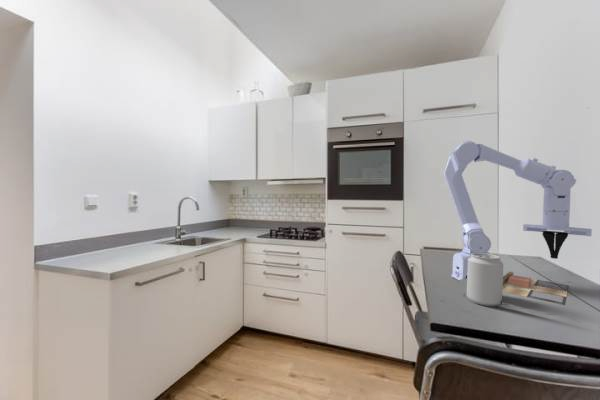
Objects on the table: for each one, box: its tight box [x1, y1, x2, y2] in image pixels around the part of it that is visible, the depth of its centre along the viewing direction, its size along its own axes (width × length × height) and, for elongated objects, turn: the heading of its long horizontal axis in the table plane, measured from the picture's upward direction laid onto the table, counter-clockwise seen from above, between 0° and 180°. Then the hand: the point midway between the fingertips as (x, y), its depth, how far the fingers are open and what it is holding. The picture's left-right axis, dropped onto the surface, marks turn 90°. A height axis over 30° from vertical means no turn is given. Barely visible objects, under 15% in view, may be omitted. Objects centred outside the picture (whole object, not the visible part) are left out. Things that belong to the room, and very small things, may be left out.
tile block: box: [509, 274, 532, 289], centre depth 80 cm, size 4×4×2 cm
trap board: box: [502, 271, 570, 306], centre depth 78 cm, size 14×22×3 cm, turn 134°
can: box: [466, 253, 504, 307], centre depth 70 cm, size 8×8×12 cm
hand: (554, 257), depth 81 cm, fingers closed
